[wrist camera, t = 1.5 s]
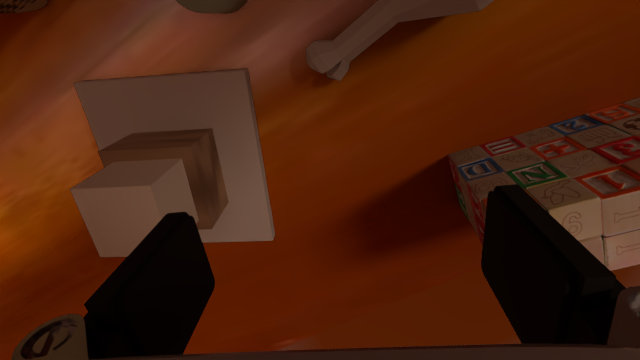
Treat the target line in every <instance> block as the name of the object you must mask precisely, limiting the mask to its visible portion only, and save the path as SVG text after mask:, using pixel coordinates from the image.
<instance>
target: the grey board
mask: <svg viewBox="0 0 640 360" xmlns="http://www.w3.org/2000/svg"><path fill="white" fill-rule="evenodd" d="M74 86H75V88H76V91H77V93H78V96H79V99H80V101H81V104H82V106H83V109H84V112H85V114H86V117H87V119H88V122H89V125H90V127H91V130H92V132H93V135H94V138H95V140H96V143H97V146H98V148H99V151H100V150H102V149H104V148H105V147H107V146H109V145H111V144H113V143H115V142H117V141H118V140H120V139H122V138H124V137H126V136H128V135H130V134H131V133H141V132H158V131H175V130H192V129H209V128H212V129H213V134H214V138H215V143H216V147H217V152H218V156H219V161H220V165H221V170H222V174H223V179H224V183H225V188H226V192H227V197H228V201H229V203H228V204H227V206H226V207H225V209H224V211H223V212H222V214H221V215H220V217H219V219H218V220H217V222H216V223H215V225H214V227H213V228H212V229H203V230H198V231H199V234H200V237H201V240H202V242H238V241H273V239H274V236H275V232H274V225H273V219H272V213H271V207H270V201H269V195H268V189H267V183H266V176H265V170H264V164H263V158H262V152H261V146H260V140H259V134H258V127H257V121H256V115H255V109H254V103H253V97H252V91H251V85H250V78H249V72H248V68H244V69H231V70H218V71H204V72H191V73H178V74H165V75H151V76H138V77H125V78H111V79H98V80H85V81H79V82H75V83H74Z"/></svg>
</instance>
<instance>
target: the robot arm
mask: <svg viewBox="0 0 640 360" xmlns="http://www.w3.org/2000/svg"><path fill="white" fill-rule="evenodd" d="M481 266H482V271H483V274H484V276H485V278H486V279H487V281H488V283H489V285H490V287H491V289H492V290H493V292H494V294H495V296H496V298H497V299H498V301H499V303H500V305H501V307H502V308H503V310H504V312H505V314H506V316H507V317H508V319H509V321H510V323H511V325H512V327H513V328H514V330H515V332H516V334H517V335H518V337H519V339H520V341H521V343H522V344H490V345H489V344H487V345H450V346H449V345H448V346H412V347H377V348H345V349H315V350H286V351H257V352H232V353H206V354H183V352H184V350H185V348H186V346H187V344H188V342H189V340H190V338H191V336H192V334H193V331H194V329H195V327H196V325H197V323H198V321H199V319H200V317H201V315H202V313H203V311H204V308H205V306H206V304H207V302H208V300H209V298H210V296H211V294H212V292H213V290H214V286H215V280H214V276H213V273H212V270H211V267H210V264H209V261H208V258H207V255H206V252H205V249H204V246H203V243H202V240H201V237H200V234H199V231H198V228H197V225H196V222H195V220H194V218H193V216H189V214H188V213H187V212H175V213H167V214H166V215H165V216H164V217H163V218H162V219H161V220H160V221H159V223H158V224H157V225H156V226H155V227H154V228H153V229H152V230H151V231H150V232H149V234H148V235H147V236H146V237H145V238H144V239H143V240H142V241H141V242H140V243H139V245H138V246H137V247H136V248H135V249H134V250H133V251H132V252H131V253H130V254H129V256H128V257H127V258H126V259H125V260H124V261H123V262H122V263H121V264H120V265H119V266H118V268H117V269H116V270H115V271H114V272H113V273H112V274H111V275H110V276H109V277H108V279H107V280H106V281H105V282H104V283H103V284H102V285H101V286H100V287H99V288H98V290H97V291H96V292H95V293H94V294H93V295H92V296H91V297H90V298H89V299H88V301H87V302H86V303H85V304H84V305H85V307H86V309H87V310H88V313H87V314H86V315H85V317H84V318H83V317H82V316H80V315H78V314H68V315H63V316H60V317H57V318H54V319H52V320H50V321H48V322H46V323H44V324H42V325H40V326H39V327H37V328H36V329H35V330H33V331H32V332H30V333H29V334H28V335H27V336H26V337H25V338H24V339H23V340H21V342H20V343H19V344H18V345H17V347H16V348H15V350H14V353H13V355H12V360H640V286H635V287H629V288H625V287H624V286H623V285H622V284H621V283H620V282H619V281H618V280H617V279H616V276H615V275H614V274H613V273H612V272H611V271H610V270H609V269H608V268H607V267H606V266H605V265H604V264H602V263H601V262H600V261H599V260H598V259H597V258H596V257H595V256H594V255H593V254H592V253H591V252H590V251H589V250H588V249H586V248H585V247H584V246H583V245H582V244H581V243H580V242H579V241H578V240H577V239H576V238H575V237H574V236H573V235H572V234H570V233H569V232H568V231H567V230H566V229H565V228H564V227H563V226H562V225H561V224H560V223H559V222H558V221H557V220H556V219H554V218H553V217H552V216H551V215H550V214H549V213H548V212H547V211H546V210H545V209H544V208H543V207H542V206H541V205H540V204H538V203H537V202H536V201H535V200H534V199H533V198H532V197H531V196H530V195H529V194H528V193H527V192H526V191H525V190H524V189H522V188H521V187H520V186H519V185H518V184H513V185H501V186H496V187H495V188H494V191H490V192H489V193H488V196H487V207H486V218H485V228H484V239H483V249H482V260H481Z"/></svg>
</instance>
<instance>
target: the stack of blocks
mask: <svg viewBox="0 0 640 360" xmlns="http://www.w3.org/2000/svg"><path fill="white" fill-rule="evenodd" d="M448 159H449V164H450V168H451V172H452V176H453V180H454V182H455V187H456V191H457V196H458V200H459V205H460V207H461V209H462V211H463V212H464V214H465V215H466V217H467V219H468V220H469V222H470V223H471V225H472V227H473V229H474V230H475V232H476V234H477V236H478V237H479V239H480V241H481V243H482V245H483V239H484V228H485V218H486V207H487V196H488V193H489V192H490V191H494V188H495V187H496V186H501V185H513V184H518V185H519V186H520V187H521V188H522V189H524V190H525V191H526V192H527V193H528V194H529V195H530V196H531V197H532V198H533V199H534V200H535V201H536V202H537V203H538V204H540V205H541V206H542V207H543V208H544V209H545V210H546V211H547V212H548V213H549V214H550V215H551V216H552V217H553V218H554V219H556V220H557V221H558V222H559V223H560V224H561V225H562V226H563V227H564V228H565V229H566V230H567V231H568V232H569V233H570V234H572V235H573V236H574V237H575V238H576V239H577V240H578V241H579V242H580V243H581V244H582V245H583V246H584V247H585V248H586V249H588V250H589V251H590V252H591V253H592V254H593V255H594V256H595V257H596V258H597V259H598V260H599V261H600V262H601V263H602V264H604V265H605V266H606V267H607V268H608V269H609V270H610V271H611V270H616V269H620V268H624V267H629V266H634V265H638V264H640V98H637V99H633V100H630V101H627V102H624V103H621V104H616V105H613V106H609V107H606V108H603V109H599V110H596V111H593V112H589V113H586V114H585V115H582V116H578V117H575V118H572V119H568V120H565V121H562V122H558V123H555V124H551V125H549V126H547V127H542V128H539V129H536V130H532V131H529V132H526V133H522V134H519V135H516V136H510V137H507V138H503V139H500V140H497V141H493V142H490V143H486V144H483V145H480V146H475V147H472V148H469V149H465V150H462V151H458V152H455V153H452V154H449V155H448Z"/></svg>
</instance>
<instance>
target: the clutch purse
mask: <svg viewBox="0 0 640 360" xmlns="http://www.w3.org/2000/svg"><path fill="white" fill-rule="evenodd" d="M47 2H48V0H0V13H19V12H28V11H33V10H37V9H40V8H42V7H44V6H45V5H46V4H47Z"/></svg>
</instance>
